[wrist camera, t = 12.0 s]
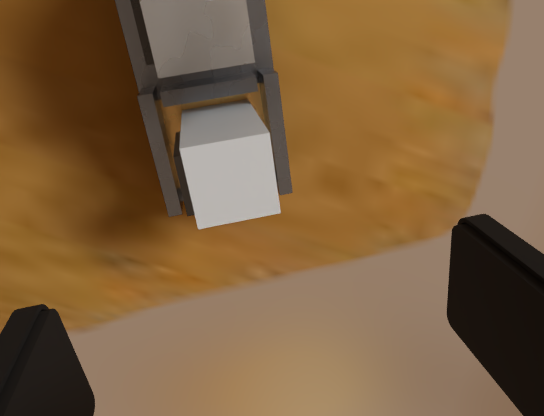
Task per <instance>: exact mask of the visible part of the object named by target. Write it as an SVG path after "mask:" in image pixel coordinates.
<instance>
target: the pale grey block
mask: <svg viewBox="0 0 544 416" xmlns="http://www.w3.org/2000/svg"><path fill="white" fill-rule="evenodd" d="M173 158H174V163H175V167H176V171H177V175H178V179H179V183H180V187H181V191H182V196H183V200H184V204H185V208H186V212H187V216H191V215H195V218H196V222H197V226H198V229H203V228H208V227H213V226H218V225H223V224H228V223H233V222H238V221H243V220H248V219H253V218H258V217H263V216H269V215H274V214H279V213H281V211H280V204H279V197H278V190H277V182H276V175H275V168H274V160H273V153H272V146H271V139H270V132H269V131H268V129H267V128H266V126H265V125H264V123H263V122H262V120H261V119H260V117H259V116H258V114H257V112H256V111H255V109H254V108H253V106H252V105H251V103H250V102H249V100H248V99H245V100H240V101H234V102H228V103H222V104H216V105H210V106H204V107H198V108H192V109H186V110H182V117H181V131H180V132H176V135H175V145H174V154H173Z"/></svg>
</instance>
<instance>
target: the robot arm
mask: <svg viewBox="0 0 544 416" xmlns="http://www.w3.org/2000/svg"><path fill="white" fill-rule="evenodd" d="M449 270H450V271H449V285H448V301H447V318H448V321H449V323H450V325H451V327H452V328H453V330H454V331H455V332H456V333H457V335H458V336H459V337H460V338H461V340H462V341H463V342H464V343H465V344H466V346H467V347H468V348H469V349H470V351H471V352H472V353H473V354H474V356H475V357H476V358H477V359H478V361H479V362H480V363H481V364H482V365H483V367H484V368H485V369H486V370H487V372H489V374H490V375H491V376H492V378H493V379H494V380H495V381H496V383H497V384H498V385H499V386H500V388H501V389H502V390H503V391H504V392H505V394H506V395H507V396H508V397H509V399H510V400H511V401H512V402H513V403H514V405H515V406H516V407H517V408H518V410H519V411H520V412H521V413H522V415H523V416H544V254H542V253H541V252H540V251H538V250H537V249H535V248H534V247H533V246H531V245H530V244H528V243H527V242H525V241H524V240H523V239H521V238H520V237H518V236H517V235H516V234H514V233H513V232H511V231H510V230H508V229H507V228H506V227H504V226H503V225H501V224H500V223H498V222H497V221H496V220H494V219H493V218H491V217H490V216H489V215H486V214H480V215H475V216H471V217H465V218H461V219H460V220H459V222H458V225H456V226H454V227H453V229H452V238H451V254H450V269H449ZM94 409H95V399H94V395H93V392H92V389H91V387H90V385H89V383H88V380H87V378H86V376H85V373H84V371H83V369H82V367H81V364H80V362H79V360H78V358H77V355H76V353H75V351H74V349H73V346H72V344H71V341H70V339H69V337H68V334H67V332H66V330H65V328H64V325H63V323H62V321H61V318H60V316H59V314H58V312H57V311H56V310H55V309H48V307H47V306H46V305H44V304H41V305H36V306H31V307H26V308H21V309H17V310H14V312H13V313H12V314H11V316H10V318H9V320H8V321H7V323H6V325H5V327H4V328H3V330H2V332H1V334H0V416H93V414H94Z"/></svg>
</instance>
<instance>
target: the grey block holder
mask: <svg viewBox="0 0 544 416" xmlns="http://www.w3.org/2000/svg"><path fill="white" fill-rule="evenodd" d="M115 3H116V7H117V10H118V14H119V18H120V22H121V26H122V29H123V33H124V37H125V41H126V45H127V49H128V52H129V56H130V60H131V64H132V68H133V71H134V75H135V79H136V83H137V87H138V90H139V94H138V95H137V98H138V102H139V106H140V109H141V113H142V117H143V121H144V124H145V128H146V132H147V136H148V140H149V143H150V147H151V151H152V155H153V158H154V162H155V166H156V170H157V173H158V177H159V181H160V185H161V189H162V192H163V196H164V200H165V204H166V207H167V211H168V215H169V217H171V216H176V215H181V214H182V209H183V201H184V200H183V196H182V191H181V187H180V183H179V179H178V175H177V171H176V167H175V163H174V158H173V154H174V145H175V135H176V132H180V131H181V117H182V110H186V109H192V108H198V107H204V106H210V105H216V104H222V103H228V102H234V101H240V100H245V99H248V100H249V102H250V103H251V105H252V106H253V108H254V109H255V111H256V112H257V114H258V116H259V117H260V119H261V120H262V122H263V123H264V125H265V126H266V128H267V129H268V131H269V132H270V139H271V146H272V153H273V160H274V168H275V175H276V182H277V190H278V193H279V195H284V194H289V193H292V185H291V177H290V169H289V161H288V153H287V145H286V137H285V128H284V120H283V112H282V104H281V96H280V88H279V80H278V73H277V72H276V71H274V69H273V61H272V53H271V45H270V37H269V30H268V22H267V14H266V6H265V0H115Z"/></svg>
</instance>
